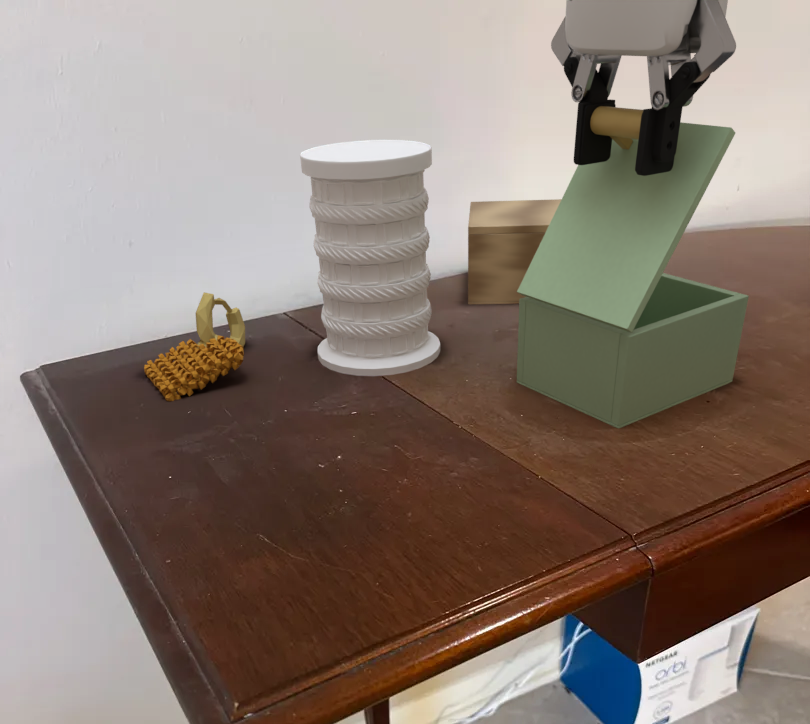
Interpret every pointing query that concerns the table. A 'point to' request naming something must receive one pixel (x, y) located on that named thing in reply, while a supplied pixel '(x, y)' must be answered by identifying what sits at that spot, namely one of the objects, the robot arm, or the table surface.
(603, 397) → the chest
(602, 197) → the lid
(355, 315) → the decorative container
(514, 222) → the cabinet
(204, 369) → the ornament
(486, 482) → the table surface
